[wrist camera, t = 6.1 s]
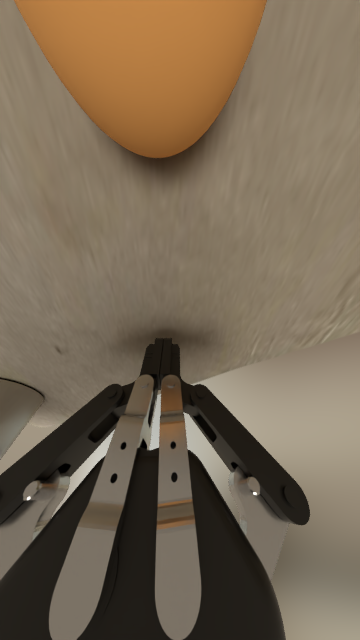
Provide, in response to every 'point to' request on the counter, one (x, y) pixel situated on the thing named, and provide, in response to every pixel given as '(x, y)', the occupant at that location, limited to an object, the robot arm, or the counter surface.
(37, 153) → the counter surface
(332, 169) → the counter surface
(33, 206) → the counter surface
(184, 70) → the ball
